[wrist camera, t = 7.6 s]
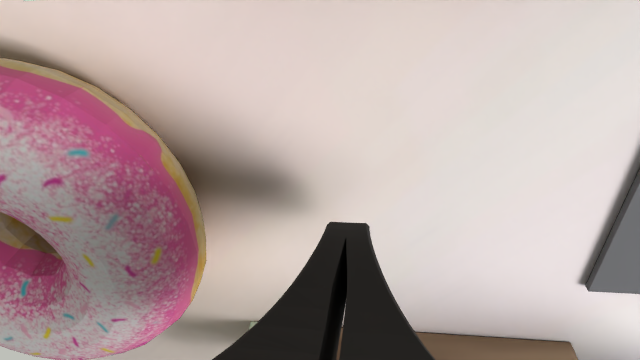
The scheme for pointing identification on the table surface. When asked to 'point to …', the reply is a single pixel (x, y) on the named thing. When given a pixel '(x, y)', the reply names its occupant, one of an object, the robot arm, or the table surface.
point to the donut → (88, 221)
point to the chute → (486, 347)
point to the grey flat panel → (621, 250)
